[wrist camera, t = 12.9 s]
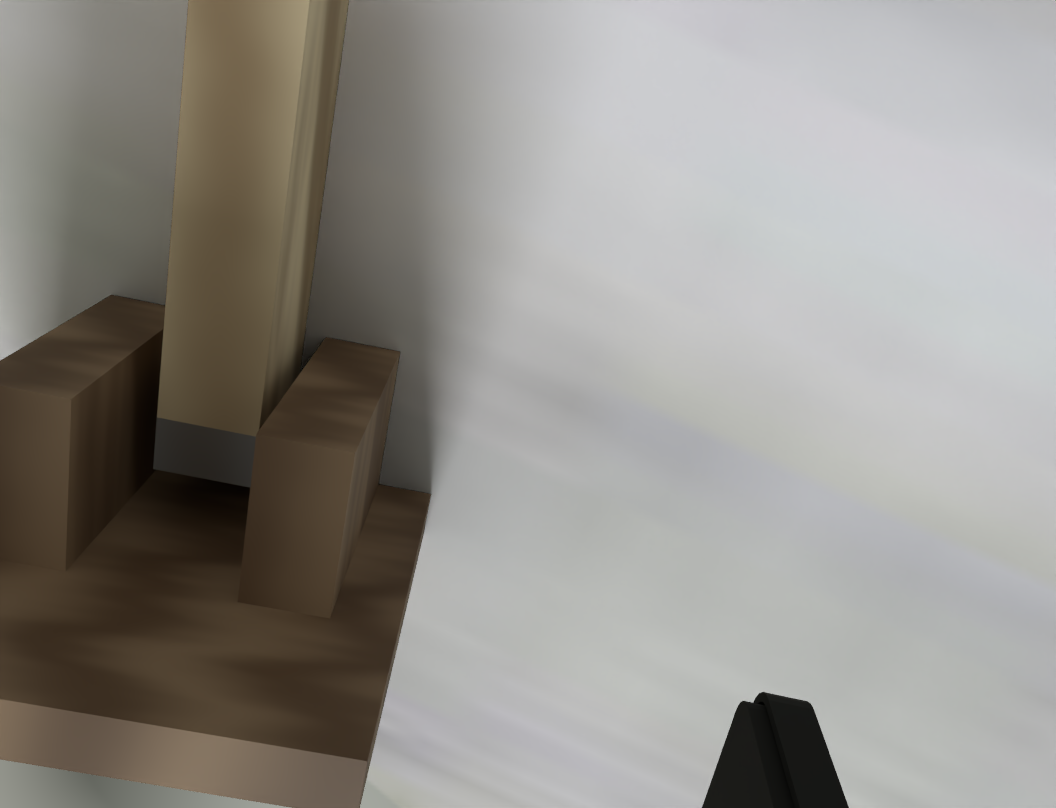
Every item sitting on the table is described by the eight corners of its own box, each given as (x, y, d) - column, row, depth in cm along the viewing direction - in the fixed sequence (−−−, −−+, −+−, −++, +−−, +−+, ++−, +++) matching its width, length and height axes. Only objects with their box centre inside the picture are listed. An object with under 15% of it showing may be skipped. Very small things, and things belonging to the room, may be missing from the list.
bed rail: (372, -177, 31) (336, -224, 26) (293, 424, 39) (252, 487, 34) (267, -202, 31) (207, -255, 26) (208, 407, 39) (153, 468, 33)
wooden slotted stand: (455, 362, 38) (402, 569, 23) (423, 534, 41) (357, 818, 26) (53, 283, 37) (-273, 446, 22) (48, 465, 40) (-244, 719, 25)
